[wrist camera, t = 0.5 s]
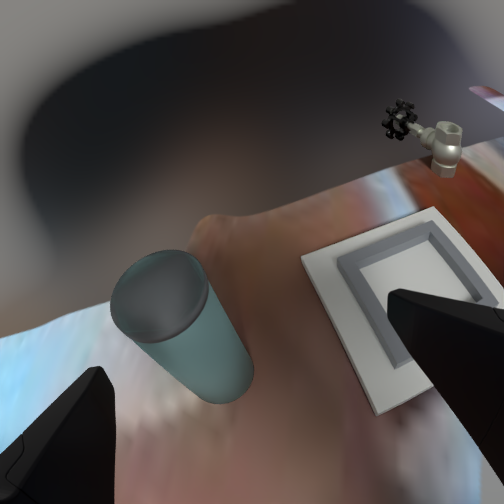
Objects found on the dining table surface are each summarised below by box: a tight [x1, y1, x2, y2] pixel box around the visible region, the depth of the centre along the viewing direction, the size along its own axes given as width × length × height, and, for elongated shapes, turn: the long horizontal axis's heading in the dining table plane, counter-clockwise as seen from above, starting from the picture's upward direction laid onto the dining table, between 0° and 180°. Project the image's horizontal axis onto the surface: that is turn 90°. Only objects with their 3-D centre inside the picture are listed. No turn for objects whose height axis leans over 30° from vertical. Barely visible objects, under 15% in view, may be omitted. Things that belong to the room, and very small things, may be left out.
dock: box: [301, 207, 504, 416], centre depth 25 cm, size 16×16×2 cm
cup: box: [110, 250, 254, 404], centre depth 20 cm, size 6×6×12 cm
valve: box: [382, 99, 463, 178], centre depth 36 cm, size 7×7×12 cm
